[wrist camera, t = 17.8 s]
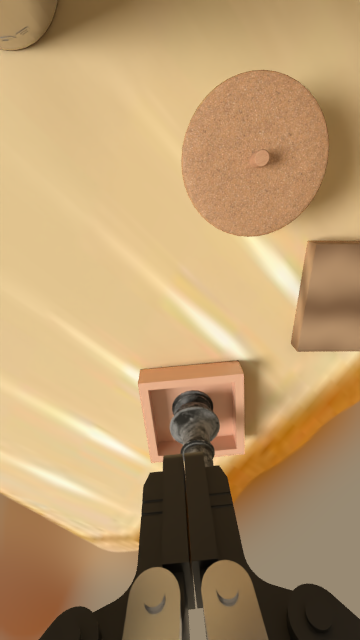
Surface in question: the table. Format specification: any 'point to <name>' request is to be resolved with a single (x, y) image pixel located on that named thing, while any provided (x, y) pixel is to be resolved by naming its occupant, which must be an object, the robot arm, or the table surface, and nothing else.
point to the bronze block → (329, 298)
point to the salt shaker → (195, 424)
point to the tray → (209, 378)
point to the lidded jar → (255, 153)
